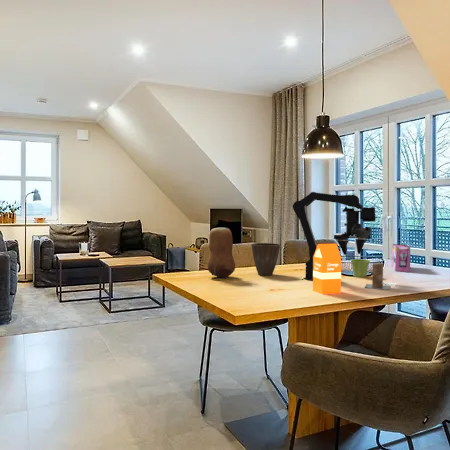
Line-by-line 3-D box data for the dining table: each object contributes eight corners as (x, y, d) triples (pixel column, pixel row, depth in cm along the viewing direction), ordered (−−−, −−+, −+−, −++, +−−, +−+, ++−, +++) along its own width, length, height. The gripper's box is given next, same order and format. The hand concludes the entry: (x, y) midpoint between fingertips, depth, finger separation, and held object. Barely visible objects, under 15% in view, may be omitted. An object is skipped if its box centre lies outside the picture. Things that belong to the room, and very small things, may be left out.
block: (372, 287, 191) (372, 264, 191) (373, 285, 196) (373, 262, 195) (382, 287, 189) (382, 264, 189) (382, 285, 194) (383, 263, 194)
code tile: (374, 285, 198) (374, 284, 198) (376, 282, 207) (376, 281, 207) (395, 286, 195) (395, 286, 195) (396, 283, 203) (396, 283, 203)
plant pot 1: (272, 272, 239) (272, 242, 238) (284, 276, 225) (285, 244, 224) (247, 273, 234) (247, 243, 234) (257, 277, 220) (258, 245, 220)
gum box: (410, 272, 240) (411, 247, 240) (395, 271, 242) (395, 247, 242) (405, 266, 263) (405, 244, 263) (391, 266, 265) (391, 243, 265)
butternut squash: (225, 274, 229) (225, 226, 228) (240, 278, 218) (240, 227, 217) (202, 276, 221) (202, 227, 221) (216, 280, 210) (216, 228, 209)
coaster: (364, 288, 190) (364, 287, 190) (366, 285, 199) (366, 283, 199) (389, 290, 186) (389, 289, 186) (390, 286, 195) (390, 285, 195)
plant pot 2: (370, 279, 217) (371, 261, 216) (350, 278, 218) (351, 261, 218) (368, 276, 226) (368, 259, 225) (349, 275, 228) (349, 258, 227)
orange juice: (341, 293, 180) (341, 244, 180) (321, 294, 178) (322, 244, 177) (331, 289, 188) (331, 243, 187) (312, 290, 185) (313, 243, 185)
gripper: (351, 222, 195) (350, 257, 196) (380, 221, 205) (379, 255, 205) (333, 221, 205) (332, 254, 206) (361, 221, 214) (361, 252, 215)
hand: (352, 254), depth 208 cm, fingers open, 9 cm apart
